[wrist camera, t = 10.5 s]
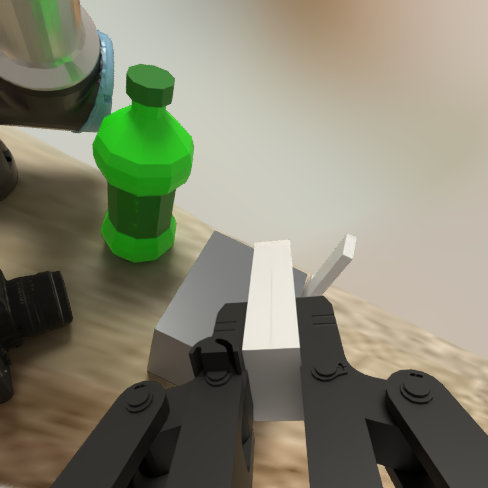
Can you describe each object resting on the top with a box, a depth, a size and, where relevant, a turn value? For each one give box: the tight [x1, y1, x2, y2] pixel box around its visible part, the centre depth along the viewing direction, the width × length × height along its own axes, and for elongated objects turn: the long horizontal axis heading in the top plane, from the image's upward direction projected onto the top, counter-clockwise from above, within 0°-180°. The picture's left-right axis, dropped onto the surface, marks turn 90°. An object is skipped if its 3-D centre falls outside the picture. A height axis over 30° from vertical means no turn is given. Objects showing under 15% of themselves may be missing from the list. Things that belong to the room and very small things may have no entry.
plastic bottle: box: [93, 64, 194, 263], centre depth 40 cm, size 10×10×25 cm
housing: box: [147, 231, 307, 421], centre depth 41 cm, size 13×16×11 cm
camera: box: [0, 269, 73, 403], centre depth 34 cm, size 14×11×10 cm
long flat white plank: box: [301, 234, 356, 297], centre depth 39 cm, size 1×5×18 cm, turn 160°
